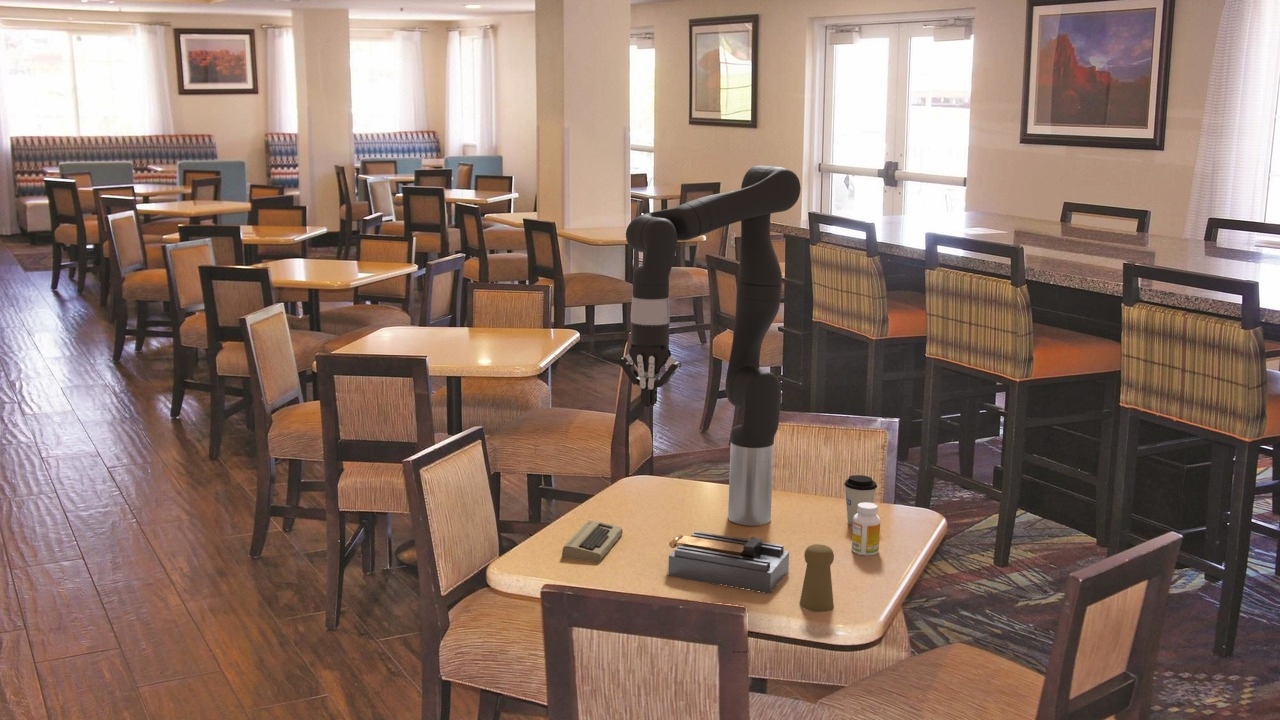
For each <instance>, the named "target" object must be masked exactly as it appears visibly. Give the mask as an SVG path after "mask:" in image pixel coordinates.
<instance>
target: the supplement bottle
mask: <svg viewBox="0 0 1280 720" xmlns="http://www.w3.org/2000/svg"><path fill="white" fill-rule="evenodd" d="M878 507H879V506H878V504H876V503H875V502H873V503H868V502H863V503H859V504H858V506H857V512H858V513H857V514H855V515H854V517H853V526H852V536H851V551H852V552H854V553H855V554H857V555H860V556H875V555H877V554H878V553H879V551H880V536H881V535H880V532H881V518H880V516H879V515H877V514H878V511H879V509H878Z"/></svg>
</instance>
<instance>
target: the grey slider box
mask: <svg viewBox="0 0 1280 720" xmlns="http://www.w3.org/2000/svg"><path fill="white" fill-rule="evenodd" d="M689 537H696V538H702V539H709V540H715V541H722V542H728V543H735V544H741V545H744V546H743V556H737V555H731V554H725V553H719V552H714V551H708V550H702V549H696V548H690V547H684V546H678V547H676V548H674V550H673V551H672V552H671V553H670V554H669V555H668V567H667V568H668V570H667V571H668V572H667V573H668V574H667V576H668V577H674V578H680V579H684V580H689V581H690V580H691V581H695V582H701V583H706V582H708V584H712V583H713V585H717V584H722V585H721V586H723V585H727V586H726V587H728V586H733V587H732V588H734V587H738V588H737V589H739V588H744V589H743V590H745V589H750V590H749V591H751V590H754V591H753V592H756V591H760V592H759V593H762V592H765V593H764V594H767V593H770V594H771V593H772V592H773V591H774V590H775V589H776V587H777V586H778V585H779V583H780V582H781V581H782V580H783V579H784V577H786V575H787V574H788V572H789V565H790V551H787V550H785V549H784V548H785V545H784V544H776V543H771V542H764V541H763V539H762V538H759V537H750V539H746V538H740V537H733V536H728V535H720V534H716V533H715V534H714V533H708V532H702V531H696V530H695V531H694V532H693V533H692V534H691V535H690V536H689ZM777 584H778V585H777ZM773 589H774V590H773ZM772 590H773V591H772Z"/></svg>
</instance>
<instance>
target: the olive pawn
mask: <svg viewBox="0 0 1280 720" xmlns="http://www.w3.org/2000/svg"><path fill="white" fill-rule="evenodd" d="M803 553H804V555H803V557H804V561H805V563H806V567H805V568H806V569H805V573H804V577H803V583H802V584H803V585H802V589H801V594H800V598H799V599H800V600H799V606H800V607H801V608H802V609H804V608H805V609H804V610H806V609H807V611H810V612H815V613H816V612H819V613H820V612H828V611H830V610H833V609H834V594H833V593H834V592H833V583H832V571H831V566H832V564H833V563H834V559H835V553H834V551H833V548H831V547H830V546H829V545H825V544H819V543H815V544H811V545H808V546H807V547H806V549H805V550H804V552H803Z"/></svg>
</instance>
